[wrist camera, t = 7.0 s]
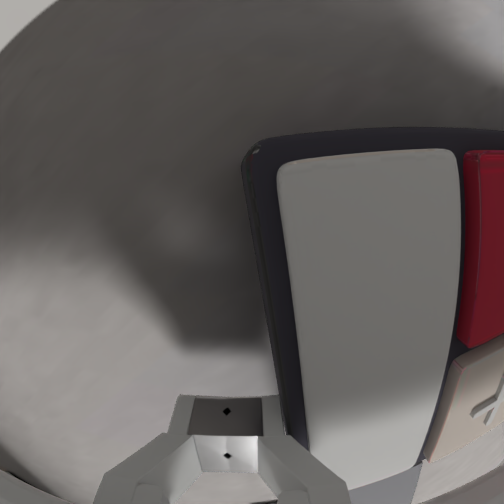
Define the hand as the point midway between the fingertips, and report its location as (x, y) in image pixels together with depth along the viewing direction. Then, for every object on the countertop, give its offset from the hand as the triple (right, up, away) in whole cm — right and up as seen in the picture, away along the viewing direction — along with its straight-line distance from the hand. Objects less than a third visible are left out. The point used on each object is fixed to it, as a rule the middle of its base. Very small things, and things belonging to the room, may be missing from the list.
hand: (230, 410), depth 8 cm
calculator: (+9, +4, +2) cm, 9 cm away
